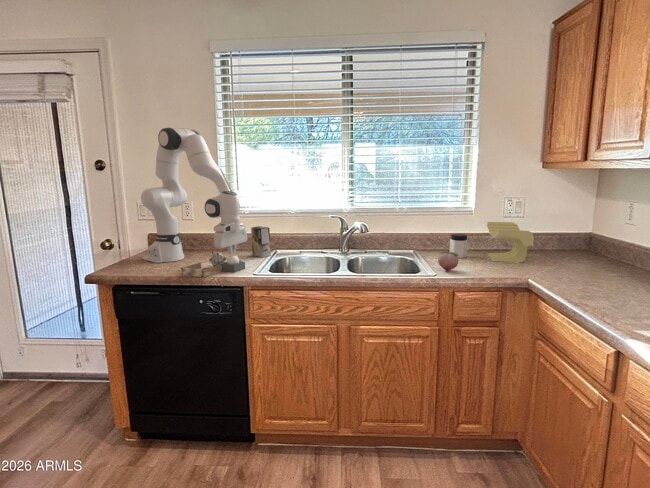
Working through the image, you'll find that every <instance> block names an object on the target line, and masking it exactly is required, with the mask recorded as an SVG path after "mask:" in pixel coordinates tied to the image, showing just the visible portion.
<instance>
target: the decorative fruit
mask: <svg viewBox="0 0 650 488" xmlns="http://www.w3.org/2000/svg"><path fill="white" fill-rule="evenodd" d="M438 255H439V256H438V258H437V263H438V265H439V266H440V267H441V269H444V270H446V271H448V272H449V271H452V270H453V269H455V268H457V267H458V265H459V258H458V257H457V256H459V255H458V254H457V253H455V252H450V249H448V251H441V252H440V253H438Z"/></svg>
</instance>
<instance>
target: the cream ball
mask: <svg viewBox="0 0 650 488" xmlns="http://www.w3.org/2000/svg"><path fill="white" fill-rule="evenodd" d="M239 261H240V259H239V257H238V256H237V255H234V254H232V255H230V256H228V257H227V259H226V262H227V264H232V265H235V264H238V263H239Z"/></svg>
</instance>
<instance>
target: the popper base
mask: <svg viewBox="0 0 650 488" xmlns="http://www.w3.org/2000/svg"><path fill="white" fill-rule="evenodd" d="M245 269H246V261H243V260H239V263H238V264H235V265H232V264H227V261H224V263H221V272H231V273H236V272H240V271H242V270H245Z"/></svg>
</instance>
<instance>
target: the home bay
mask: <svg viewBox="0 0 650 488" xmlns="http://www.w3.org/2000/svg"><path fill="white" fill-rule="evenodd" d="M180 271H181V272H180V273H181V275H184V276H186V275H187V276H191V277H192V276H193V277H199V278H206V277H210V276H212V275H215V274H218V273H220V272H222V270H221V265H218V266H215V267H213V266H212V267H210V268H206V269H203V270H202V262H196V263H193V264H189V265H186V266H182V267H180Z"/></svg>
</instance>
